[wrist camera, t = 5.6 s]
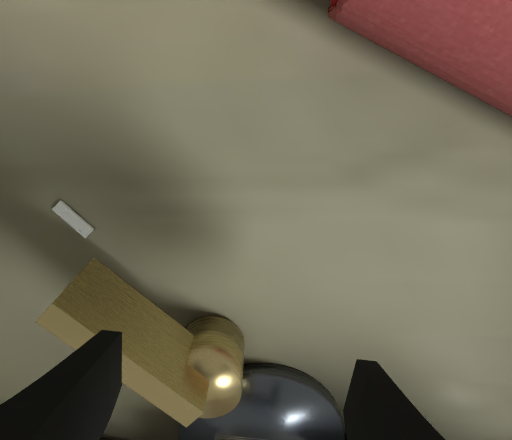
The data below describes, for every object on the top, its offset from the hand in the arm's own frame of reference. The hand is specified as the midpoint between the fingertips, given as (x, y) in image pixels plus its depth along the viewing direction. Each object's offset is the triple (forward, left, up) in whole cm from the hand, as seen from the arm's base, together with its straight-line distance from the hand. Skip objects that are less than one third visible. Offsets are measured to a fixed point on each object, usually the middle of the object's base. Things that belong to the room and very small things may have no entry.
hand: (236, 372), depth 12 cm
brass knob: (+3, +2, -6) cm, 7 cm away
